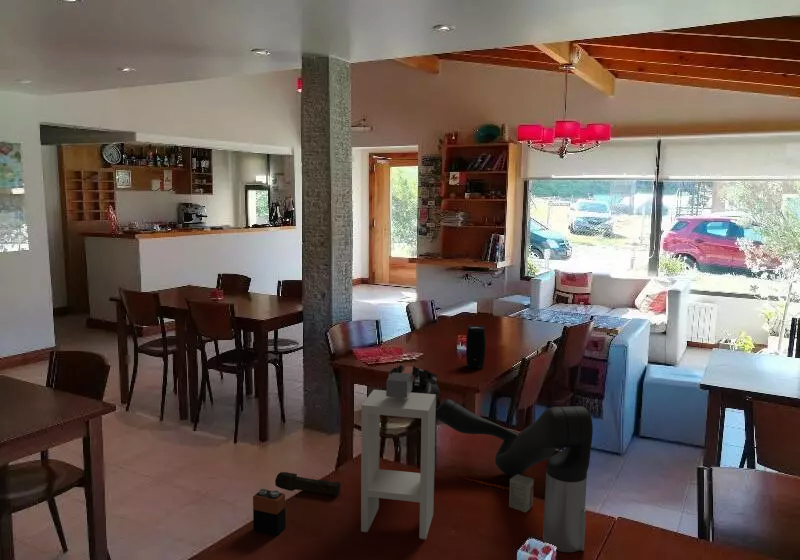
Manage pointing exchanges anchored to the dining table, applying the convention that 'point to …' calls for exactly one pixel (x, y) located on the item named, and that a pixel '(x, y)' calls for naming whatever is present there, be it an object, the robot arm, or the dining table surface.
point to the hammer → (400, 383)
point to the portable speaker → (475, 346)
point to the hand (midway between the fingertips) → (407, 369)
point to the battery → (269, 512)
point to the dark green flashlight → (307, 484)
